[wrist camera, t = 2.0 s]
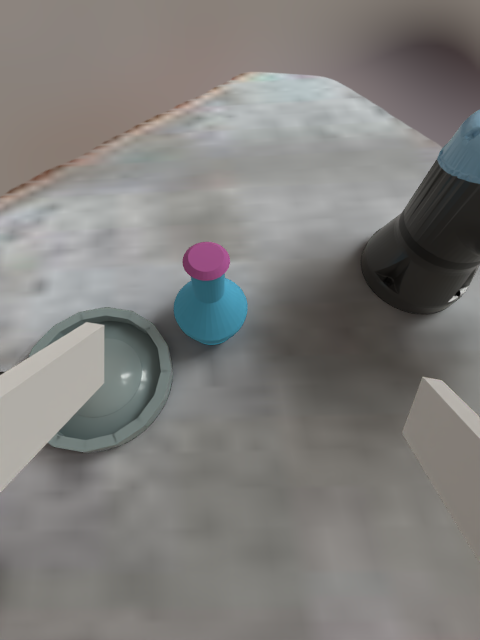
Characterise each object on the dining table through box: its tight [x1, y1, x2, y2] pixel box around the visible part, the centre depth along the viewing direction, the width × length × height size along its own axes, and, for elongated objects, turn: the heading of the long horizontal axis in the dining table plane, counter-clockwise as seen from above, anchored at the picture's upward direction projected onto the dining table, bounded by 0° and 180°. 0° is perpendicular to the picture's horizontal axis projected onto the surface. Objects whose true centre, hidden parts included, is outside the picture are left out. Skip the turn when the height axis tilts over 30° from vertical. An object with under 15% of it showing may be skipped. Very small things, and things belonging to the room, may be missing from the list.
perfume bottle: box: [174, 242, 247, 345], centre depth 38 cm, size 9×9×15 cm
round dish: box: [28, 307, 173, 453], centre depth 40 cm, size 17×17×2 cm
